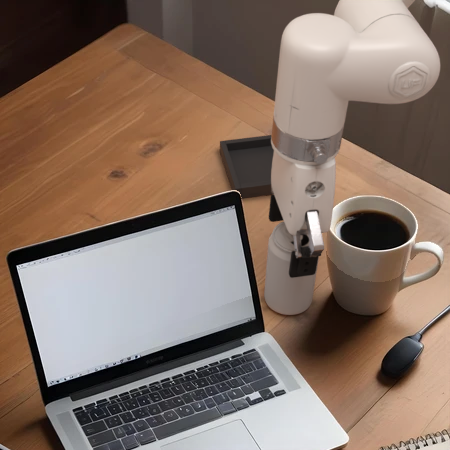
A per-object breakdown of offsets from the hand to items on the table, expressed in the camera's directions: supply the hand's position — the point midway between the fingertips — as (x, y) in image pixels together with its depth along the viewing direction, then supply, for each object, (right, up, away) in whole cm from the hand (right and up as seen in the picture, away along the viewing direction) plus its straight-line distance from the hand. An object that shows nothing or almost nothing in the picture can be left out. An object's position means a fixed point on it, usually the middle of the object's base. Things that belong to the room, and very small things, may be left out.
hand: (291, 246), depth 102 cm
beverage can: (0, -7, +8) cm, 10 cm away
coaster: (-2, +14, +24) cm, 28 cm away
